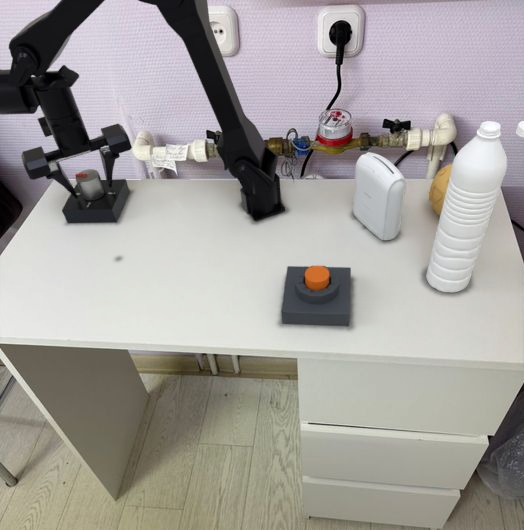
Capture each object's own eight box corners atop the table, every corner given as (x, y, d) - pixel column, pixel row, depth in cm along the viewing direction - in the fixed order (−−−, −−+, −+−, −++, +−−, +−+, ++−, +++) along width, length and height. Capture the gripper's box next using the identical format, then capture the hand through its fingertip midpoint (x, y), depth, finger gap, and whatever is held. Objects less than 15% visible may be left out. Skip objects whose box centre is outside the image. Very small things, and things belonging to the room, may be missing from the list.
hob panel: (130, 191, 101) (125, 178, 99) (116, 222, 95) (111, 208, 92) (83, 192, 102) (78, 179, 100) (67, 223, 96) (61, 209, 94)
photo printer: (349, 213, 90) (352, 150, 81) (368, 205, 91) (375, 142, 82) (381, 244, 84) (389, 180, 75) (402, 236, 85) (413, 171, 76)
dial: (108, 187, 97) (100, 167, 94) (101, 200, 95) (94, 180, 91) (87, 187, 98) (78, 167, 94) (80, 200, 95) (71, 181, 92)
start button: (329, 274, 75) (329, 265, 74) (328, 291, 73) (328, 282, 72) (305, 273, 76) (305, 265, 74) (304, 290, 73) (304, 281, 72)
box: (349, 279, 80) (351, 258, 76) (348, 326, 74) (350, 305, 70) (288, 278, 81) (287, 257, 78) (282, 323, 75) (280, 303, 72)
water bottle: (425, 291, 77) (463, 138, 57) (425, 263, 81) (460, 110, 61) (485, 296, 75) (545, 139, 56) (482, 267, 79) (537, 111, 59)
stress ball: (487, 205, 89) (504, 153, 81) (477, 238, 83) (494, 186, 76) (431, 195, 92) (442, 144, 84) (418, 226, 87) (428, 175, 79)
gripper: (103, 79, 90) (128, 158, 102) (0, 108, 87) (39, 186, 99) (118, 103, 84) (143, 184, 96) (7, 135, 80) (48, 215, 92)
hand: (93, 191), depth 96 cm, fingers open, 6 cm apart
